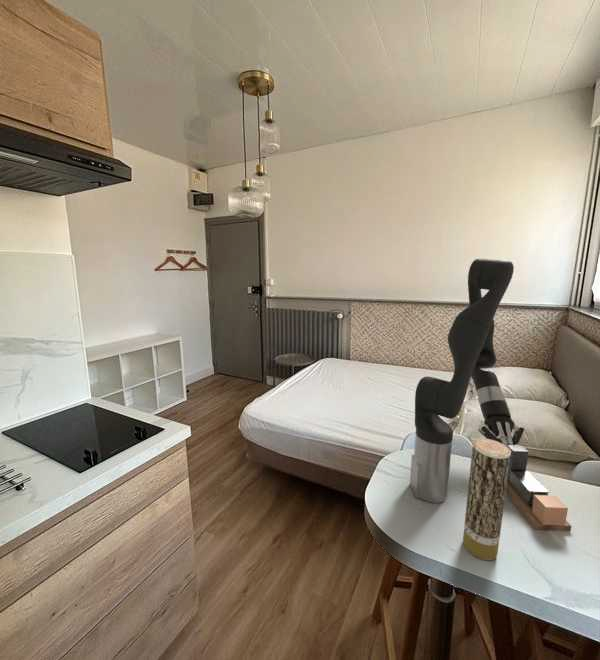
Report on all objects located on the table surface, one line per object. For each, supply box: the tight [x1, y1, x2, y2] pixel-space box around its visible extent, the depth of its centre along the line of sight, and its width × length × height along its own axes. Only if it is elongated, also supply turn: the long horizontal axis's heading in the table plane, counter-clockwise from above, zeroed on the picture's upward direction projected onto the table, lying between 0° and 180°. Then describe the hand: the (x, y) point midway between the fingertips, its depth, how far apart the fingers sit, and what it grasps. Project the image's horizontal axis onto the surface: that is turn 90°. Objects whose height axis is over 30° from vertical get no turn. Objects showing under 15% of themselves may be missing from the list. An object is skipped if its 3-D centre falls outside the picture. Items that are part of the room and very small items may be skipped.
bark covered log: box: [462, 438, 511, 561], centre depth 67 cm, size 7×7×25 cm
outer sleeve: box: [509, 471, 549, 506], centre depth 83 cm, size 5×8×4 cm, turn 176°
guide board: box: [505, 481, 573, 532], centre depth 84 cm, size 8×20×2 cm, turn 176°
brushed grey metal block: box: [507, 444, 546, 505], centre depth 82 cm, size 4×16×10 cm, turn 176°
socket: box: [532, 495, 569, 526], centre depth 75 cm, size 5×4×5 cm
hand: (510, 460), depth 91 cm, fingers closed
